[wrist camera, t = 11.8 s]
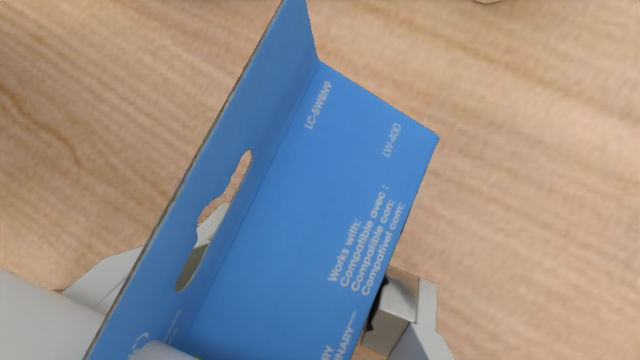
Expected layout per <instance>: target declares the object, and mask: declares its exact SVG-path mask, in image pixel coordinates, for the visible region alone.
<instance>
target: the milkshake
mask: <svg viewBox="0 0 640 360" xmlns="http://www.w3.org/2000/svg"><path fill="white" fill-rule="evenodd" d="M475 1H478V2H481V3H483V4H488V3H493V2H498V1H499V0H475Z"/></svg>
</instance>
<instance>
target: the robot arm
mask: <svg viewBox="0 0 640 360" xmlns="http://www.w3.org/2000/svg"><path fill="white" fill-rule="evenodd" d="M228 206H229V204H228V203H226V202H225V203H223V204H221V205H220V206H219V207H218V208H217V209H216V210H215V211H214V212H213V213H212V214H211V215H210V216H209V217H208V218H207V219H206V220H205V221H204V222H203V223H202V224H201V225H200V226H199V227H198V228H197V229H196V231H197V236H198V240H197V243H196V245H195V246H194V248H193V250H192V252H191V253H190V255H189V256H188V258H187V260H186V263H185V265H184V267H183V269H182V271H181V274H180V276H179V278H178V280H177V282H176V284H175V290H176V291H180V290H182V289H183V288H184V286H186V285H187V283H188V282H189V281H190V279H191V277H192V275H193V274H194V272H195V270H196V269H197V267H198V265H199V264H200V261H201V259H202V257H203V255H204V253H205V250H206V248H207V246H208V244H209V242H210V240H211V238H212V236H213V234H214V233H215V231H216V229H217V227H218V225H219V224H220V222H221V220H222V218H223V217H224V215H225V212H226V210H227V208H228ZM143 247H144V246H141V247H138V248H135V249H132V250H128V251H125V252H122V253H119V254H116V255H113V256H109V257H106V258H104V259H102V260H101V261H100V262H99V263H97V264H96V265H95V266H94V267H93V268H91V269H90V270H89V271H88V272H86V273H85V274H84V275H83V276H82V277H80V278H79V279H78V280H77V281H75V282H74V283H73V284H72V285H70V286H69V287H68V288H67V289H66V290H64V291H63V292H62V293H61V294H59V293H57V292H55V291H52V290H50V289H48V288H46V287H44V286H42V285H40V284H37V283H35V282H33V281H31V280H29V279H27V278H25V277H23V276H20V275H18V274H16V273H14V272H12V271H10V270H8V269H5V268H3V267H1V266H0V360H82V358H83V356H84V355H85V353H86V351H87V349H88V347H89V346H90V344H91V342H92V340H93V338H94V336H95V335H96V333H97V331H98V329H99V327H100V326H101V324H102V322H103V320H104V318H105V316H106V315H107V313H108V311H109V309H110V307H111V305H112V304H113V302H114V300H115V298H116V296H117V294H118V292H119V290H120V288H121V287H122V285H123V283H124V281H125V279H126V277H127V276H128V274H129V272H130V270H131V268H132V267H133V265H134V263H135V261H136V260H137V258H138V256H139V254H140V252H141V250H142V249H143ZM436 322H437V286H436V283H435V282H432V281H429V280H427V279H424V278H421V277H417V276H416V275H413V274H410V273H408V272H405V271H402V270H400V269H397V268H394V267H392V266H389V265H388V267H387V270H386V272H385V275H384V277H383V280H382V282H381V285H380V287H379V290H378V292H377V295H376V297H375V299H374V302H373V304H372V307H371V309H370V312H369V314H368V317H367V320H366V322H365V325H364V327H363V331H362V336H361V340H360V345H362V346H364V347H366V348H368V349H371V350H373V351H375V352H377V353H379V354H382V355H384V356H386V357H388V358H387V360H456V359H455V357H454V356H453V354H452V352H451V350H450V348H449V347H448V345H447V343H446V341H445V340H444V338H443V336H442V335H441V334H439V333H437V332H436ZM129 360H199V359H197V358H195V357H193V356H191V355H189V354H187V353H185V352H182V351H180V350H178V349H176V348H174V347H172V346H170V345H168V344H165V343H163V342H161V341H159V340H152V341H150V342H148V343H147V344H145V345H144V346H143V347H142V348H141V349H140V350H139V351H137V352H136V353H135V354H134V355H133V356H132V357H131V358H130V359H129Z"/></svg>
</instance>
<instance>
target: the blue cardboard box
mask: <svg viewBox="0 0 640 360" xmlns="http://www.w3.org/2000/svg"><path fill="white" fill-rule="evenodd" d="M438 141H439V136H438V135H437V134H436V133H434V132H433V131H431V130H430V129H428V128H426V127H425V126H423V125H421V124H420V123H418V122H417V121H415V120H413V119H412V118H410V117H409V116H407V115H405V114H404V113H402V112H401V111H399V110H397V109H396V108H394V107H393V106H391V105H389V104H388V103H386V102H385V101H383V100H381V99H380V98H378V97H377V96H375V95H374V94H372V93H370V92H369V91H367V90H366V89H364V88H363V87H361V86H359V85H358V84H356V83H355V82H353V81H351V80H350V79H348V78H347V77H345V76H343V75H342V74H340V73H339V72H337V71H336V70H334V69H333V68H331V67H329V66H328V65H326V64H325V63H323V62H322V61H320V60H319V58H318V56H317V54H316V48H315V45H314V39H313V35H312V31H311V25H310V19H309V15H308V11H307V4H306V0H282V1H281V3H280V5H279V7H278V8H277V10H276V12H275V14H274V15H273V17H272V19H271V21H270V22H269V24H268V26H267V28H266V30H265V31H264V33H263V35H262V37H261V38H260V40H259V42H258V44H257V46H256V47H255V49H254V51H253V53H252V55H251V56H250V58H249V60H248V62H247V63H246V65H245V66H244V68H243V71H242V73H241V75H240V77H239V78H238V80H237V82H236V83H235V85H234V87H233V89H232V91H231V92H230V94H229V96H228V98H227V99H226V101H225V103H224V105H223V107H222V108H221V110H220V112H219V114H218V115H217V117H216V119H215V121H214V123H213V124H212V126H211V128H210V130H209V131H208V133H207V135H206V137H205V138H204V140H203V142H202V144H201V146H200V147H199V149H198V151H197V153H196V155H195V156H194V158H193V160H192V162H191V163H190V165H189V167H188V168H187V170H186V172H185V174H184V176H183V178H182V179H181V181H180V183H179V185H178V186H177V188H176V190H175V192H174V193H173V195H172V197H171V199H170V201H169V202H168V204H167V206H166V208H165V210H164V212H163V213H162V215H161V217H160V218H159V220H158V222H157V224H156V225H155V227H154V229H153V231H152V232H151V234H150V236H149V238H148V240H147V241H146V243H145V245H144V247H143V249H142V250H141V252H140V254H139V256H138V258H137V260H136V261H135V263H134V265H133V267H132V268H131V270H130V272H129V274H128V276H127V277H126V279H125V281H124V283H123V285H122V287H121V288H120V290H119V292H118V294H117V296H116V298H115V300H114V302H113V304H112V305H111V307H110V309H109V311H108V313H107V315H106V316H105V318H104V320H103V322H102V324H101V326H100V327H99V329H98V331H97V333H96V335H95V336H94V338H93V340H92V342H91V344H90V346H89V347H88V349H87V351H86V353H85V355H84V356H83V358H82V360H129V359H130V358H131V357H132V356H133V355H134V354H135V353H136V352H137V351H139V350H140V349H141V348H142V347H143V346H144V345H145V344H147V343H148V342H150V341H152V340H159V341H161V342H163V343H165V344H168V345H170V346H172V347H174V348H176V349H178V350H180V351H182V352H185V353H187V354H189V355H191V356H193V357H195V358H197V359H199V360H351V357H352V355H353V352H354V350H355V347H356V345H357V342H358V340H359V337H360V335H361V332H362V330H363V327H364V325H365V322H366V320H367V317H368V314H369V312H370V309H371V307H372V304H373V302H374V299H375V297H376V295H377V292H378V290H379V287H380V285H381V282H382V280H383V277H384V275H385V272H386V270H387V267H388V265H389V262H390V260H391V257H392V255H393V252H394V250H395V247H396V245H397V242H398V240H399V238H400V235H401V234H402V232H403V228H404V226H405V223H406V221H407V218H408V215H409V212H410V210H411V207H412V204H413V201H414V199H415V196H416V194H417V192H418V189H419V187H420V184H421V182H422V179H423V177H424V174H425V172H426V169H427V167H428V164H429V162H430V159H431V157H432V154H433V152H434V149H435V147H436V145H437V143H438ZM247 150H251V160H250V164H249V166H248V169H247V171H246V173H245V175H244V177H243V179H242V181H241V183H240V185H239V187H238V189H237V190H236V192H235V194H234V196H233V198H232V200H231V202H230V204H229V206H228V208H227V210H226V212H225V215H224V217H223V218H222V220H221V222H220V224H219V225H218V227H217V229H216V231H215V233H214V234H213V236H212V238H211V240H210V242H209V244H208V246H207V248H206V250H205V253H204V255H203V257H202V259H201V261H200V264H199V265H198V267H197V269H196V270H195V272H194V274H193V275H192V277H191V279H190V281H189V282H188V283H187V285H186V286H184V288H183V289H182V290H180V291H176V290H175V284H176V282H177V280H178V278H179V276H180V274H181V271H182V269H183V267H184V265H185V263H186V260H187V258H188V256H189V255H190V253H191V252H192V250H193V248H194V246H195V245H196V243H197V240H198V236H197V231H196V227H197V222H198V218H199V216H200V214H201V212H202V210H203V209H204V208H205V207H206V206H207V205H208V204H209V203H210V202H211V201H212V200H214V199H215V198H217V197H219V196H220V195H221V194H222V193H223V192H224V191H225V189H226V187H227V186H228V184H229V182H230V179H231V177H232V175H233V173H234V172H235V170H236V168H237V166H238V163H239V161H240V159H241V157H242V156H243V154H244V153H245V152H246V151H247Z"/></svg>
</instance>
